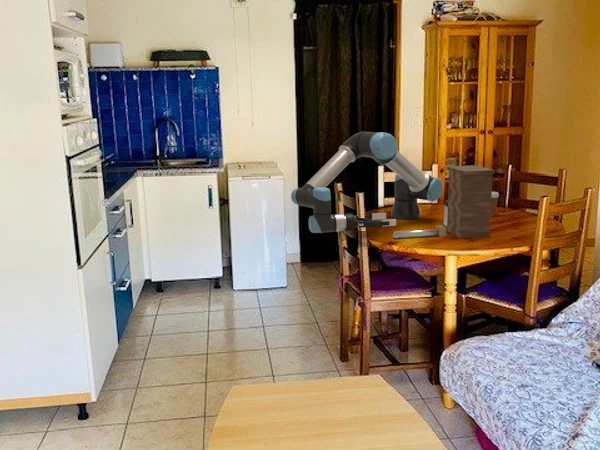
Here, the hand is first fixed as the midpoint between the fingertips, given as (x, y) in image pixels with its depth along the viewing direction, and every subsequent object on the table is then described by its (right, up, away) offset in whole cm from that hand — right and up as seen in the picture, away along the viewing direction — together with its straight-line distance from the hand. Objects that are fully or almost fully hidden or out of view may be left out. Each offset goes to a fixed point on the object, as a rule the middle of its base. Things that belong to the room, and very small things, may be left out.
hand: (390, 218), depth 264 cm
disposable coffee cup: (+58, +2, +46) cm, 74 cm away
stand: (+36, -7, +8) cm, 38 cm away
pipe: (+14, -8, +5) cm, 17 cm away
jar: (+34, -3, +26) cm, 43 cm away
